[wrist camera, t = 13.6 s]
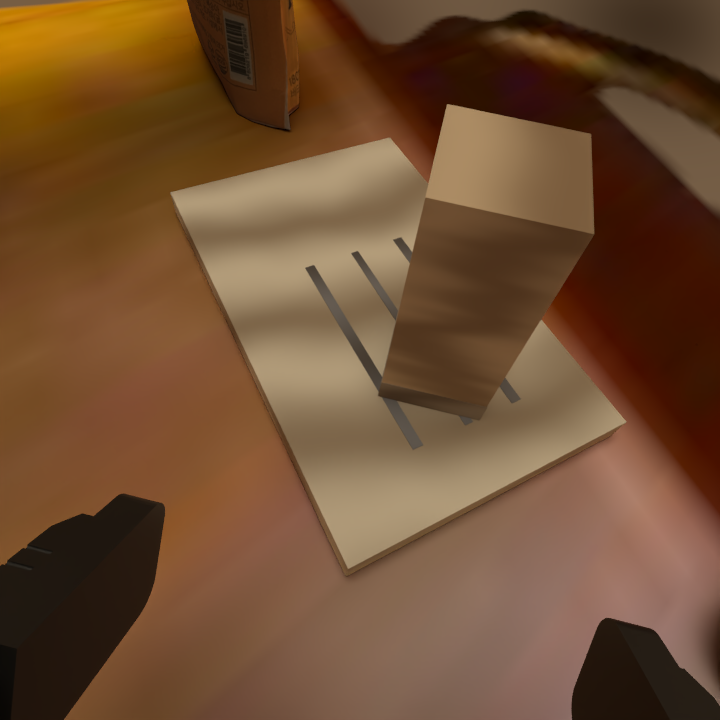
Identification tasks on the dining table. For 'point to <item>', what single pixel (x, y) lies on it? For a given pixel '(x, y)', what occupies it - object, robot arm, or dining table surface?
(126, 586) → the robot arm
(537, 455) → the birch board
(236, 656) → the dining table surface
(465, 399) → the tan tall block
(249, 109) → the pancake mix bag
